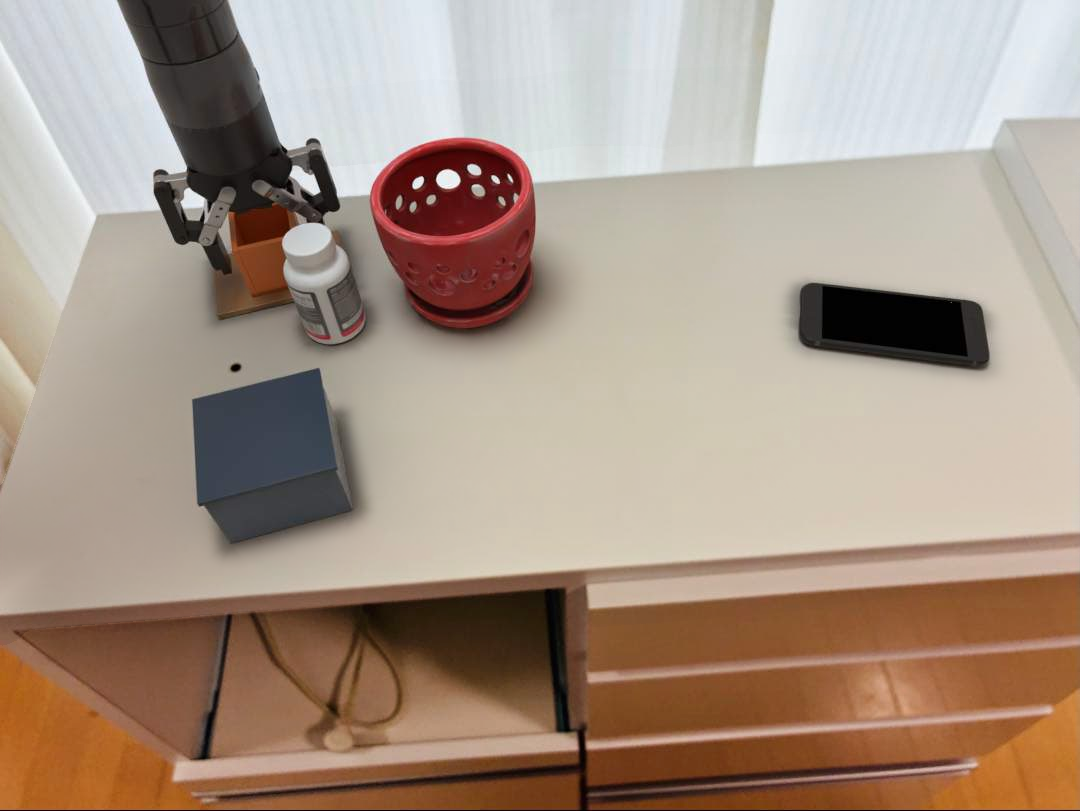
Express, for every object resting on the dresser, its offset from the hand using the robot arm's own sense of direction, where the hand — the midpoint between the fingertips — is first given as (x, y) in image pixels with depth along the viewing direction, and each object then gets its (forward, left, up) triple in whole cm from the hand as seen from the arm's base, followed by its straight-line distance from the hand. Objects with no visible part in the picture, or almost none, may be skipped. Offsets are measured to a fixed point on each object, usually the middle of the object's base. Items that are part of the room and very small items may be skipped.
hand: (274, 258), depth 75 cm
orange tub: (0, 0, -2) cm, 2 cm away
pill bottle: (+4, -8, -2) cm, 9 cm away
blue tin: (-2, -23, -2) cm, 23 cm away
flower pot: (+16, -8, -2) cm, 18 cm away
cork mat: (0, 0, -2) cm, 2 cm away
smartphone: (+49, -24, -2) cm, 55 cm away
